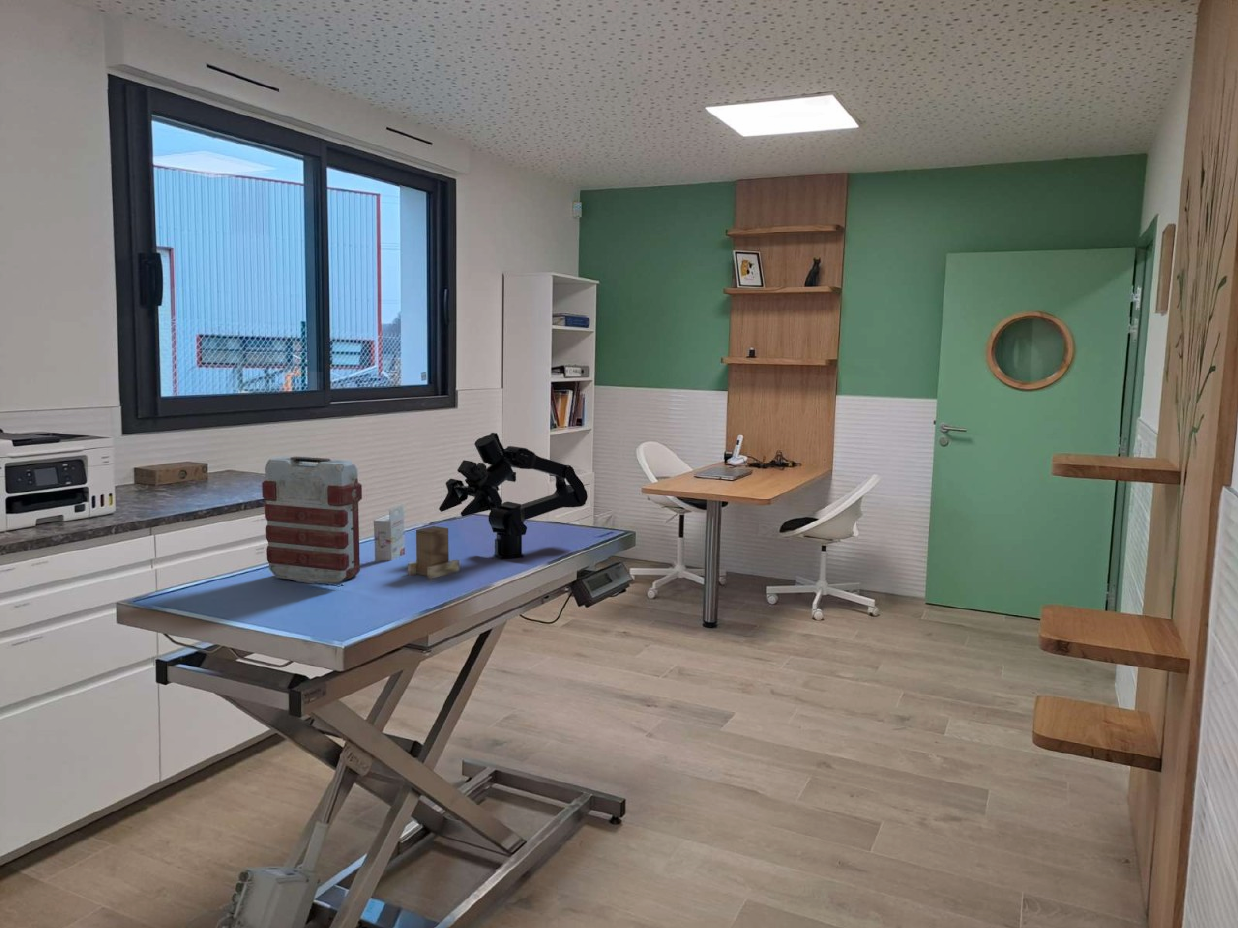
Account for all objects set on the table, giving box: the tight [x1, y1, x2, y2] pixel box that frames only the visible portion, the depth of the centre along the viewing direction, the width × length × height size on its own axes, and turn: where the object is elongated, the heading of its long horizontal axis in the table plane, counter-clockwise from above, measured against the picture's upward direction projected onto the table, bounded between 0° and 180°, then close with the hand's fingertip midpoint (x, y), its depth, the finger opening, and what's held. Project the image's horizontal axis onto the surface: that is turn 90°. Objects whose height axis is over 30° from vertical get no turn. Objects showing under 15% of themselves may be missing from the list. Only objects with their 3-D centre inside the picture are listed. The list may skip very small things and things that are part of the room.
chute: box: [407, 559, 460, 580], centre depth 222 cm, size 18×10×4 cm, turn 147°
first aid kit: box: [261, 456, 363, 586], centre depth 218 cm, size 23×8×30 cm, turn 71°
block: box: [415, 525, 450, 577], centre depth 223 cm, size 6×5×11 cm
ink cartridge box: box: [373, 504, 406, 563], centre depth 239 cm, size 9×5×15 cm, turn 168°
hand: (450, 512), depth 232 cm, fingers open, 9 cm apart
